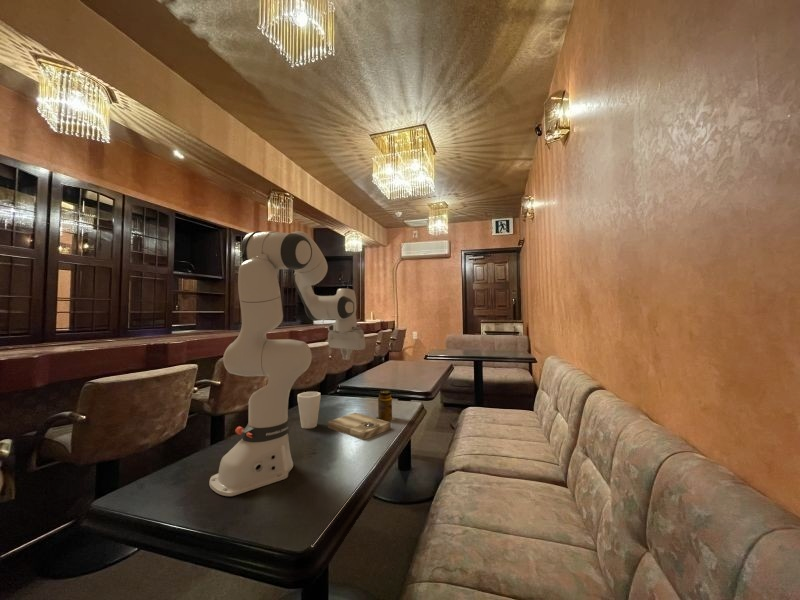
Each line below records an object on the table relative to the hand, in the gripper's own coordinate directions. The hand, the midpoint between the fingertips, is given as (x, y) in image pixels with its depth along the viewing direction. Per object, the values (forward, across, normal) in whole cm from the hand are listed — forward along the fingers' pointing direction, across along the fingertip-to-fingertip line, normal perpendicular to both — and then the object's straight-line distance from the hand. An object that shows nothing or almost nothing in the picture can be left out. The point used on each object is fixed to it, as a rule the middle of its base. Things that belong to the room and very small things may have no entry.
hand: (346, 359), depth 139 cm
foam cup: (+27, +11, +11) cm, 31 cm away
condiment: (+27, -8, -14) cm, 32 cm away
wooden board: (+27, -8, 0) cm, 28 cm away
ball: (+26, -14, 0) cm, 29 cm away
